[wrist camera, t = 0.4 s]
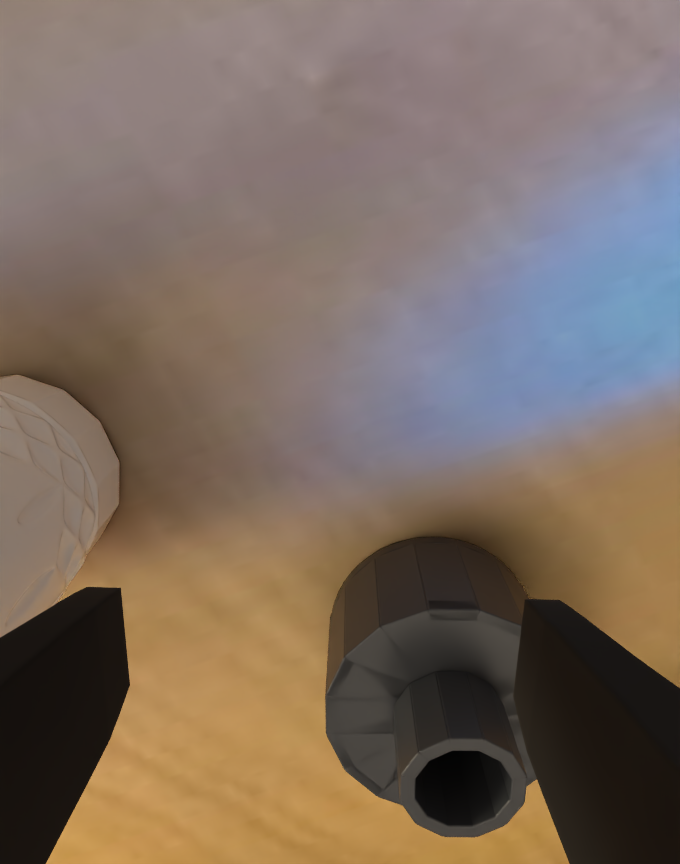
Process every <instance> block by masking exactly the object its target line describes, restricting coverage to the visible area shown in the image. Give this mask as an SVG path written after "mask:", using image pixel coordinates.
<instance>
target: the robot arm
mask: <svg viewBox="0 0 680 864" xmlns="http://www.w3.org/2000/svg"><path fill="white" fill-rule="evenodd" d="M129 686H130V681H129V671H128V660H127V650H126V639H125V629H124V618H123V607H122V597H121V588H102V587H86V588H84V589H82V590H80V591H78V592H76V593H74V594H72V595H71V596H69V597H67V598H65V599H64V600H62V601H60V602H58V603H57V604H55V605H53V606H52V607H50V608H48V609H47V610H45V611H43V612H42V613H40V614H38V615H37V616H35V617H33V618H32V619H30V620H29V621H27V622H25V623H24V624H22V625H20V626H19V627H17V628H15V629H14V630H12V631H10V632H9V633H7V634H5V635H4V636H2V637H0V864H46V862H47V860H48V858H49V856H50V854H51V852H52V851H53V849H54V847H55V845H56V843H57V841H58V839H59V837H60V835H61V833H62V831H63V829H64V827H65V826H66V824H67V822H68V820H69V818H70V816H71V814H72V812H73V810H74V808H75V806H76V804H77V803H78V801H79V799H80V797H81V795H82V793H83V791H84V789H85V787H86V785H87V783H88V781H89V779H90V777H91V776H92V774H93V772H94V770H95V768H96V766H97V764H98V762H99V760H100V758H101V756H102V754H103V752H104V750H105V748H106V746H107V744H108V742H109V740H110V738H111V735H112V732H113V730H114V727H115V725H116V722H117V719H118V717H119V714H120V711H121V708H122V706H123V703H124V700H125V697H126V694H127V691H128V688H129ZM513 698H514V702H515V706H516V710H517V715H518V719H519V723H520V727H521V731H522V735H523V739H524V743H525V746H526V750H527V753H528V756H529V759H530V762H531V764H532V767H533V770H534V772H535V775H536V778H537V780H538V783H539V785H540V788H541V791H542V793H543V796H544V799H545V801H546V804H547V806H548V809H549V812H550V814H551V817H552V819H553V822H554V824H555V827H556V830H557V832H558V835H559V837H560V840H561V842H562V845H563V848H564V850H565V853H566V855H567V858H568V861H569V863H570V864H680V688H678V687H677V686H676V685H674V684H673V683H671V682H670V681H669V680H667V679H666V678H664V677H663V676H661V675H660V674H659V673H657V672H656V671H654V670H653V669H652V668H650V667H649V666H648V665H646V664H645V663H644V662H642V661H641V660H639V659H638V658H637V657H635V656H634V655H633V654H631V653H630V652H629V651H627V650H626V649H625V648H623V647H622V646H621V645H619V644H618V643H617V642H616V641H614V640H613V639H612V638H610V637H609V636H608V635H606V634H605V633H604V632H602V631H601V630H600V629H599V628H597V627H596V626H595V625H593V624H592V623H591V622H589V621H588V620H587V619H585V618H584V617H583V616H581V615H580V614H579V613H577V612H576V611H575V610H573V609H572V608H571V607H569V606H568V605H566V604H565V603H563V602H562V601H560V600H539V599H525V601H524V610H523V618H522V626H521V635H520V643H519V651H518V659H517V668H516V676H515V684H514V692H513Z"/></svg>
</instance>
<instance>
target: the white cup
mask: <svg viewBox="0 0 680 864" xmlns="http://www.w3.org/2000/svg"><path fill="white" fill-rule="evenodd" d="M119 466H120V463H119V460H118V458H117V456H116V454H115V452H114V450H113V447H112V445H111V443H110V441H109V439H108V437H107V435H106V433H105V431H104V429H103V427H102V424H101V422H100V421H99V420H98V419H97V418H95V417H94V416H93V415H92V414H91V413H90V412H89V411H87V410H86V409H85V408H84V407H83V406H82V405H81V404H80V403H78V402H77V401H76V400H75V399H74V398H73V397H72V396H70V395H69V394H68V393H67V392H66V391H65V390H63V389H60V388H57V387H54V386H51V385H48V384H45V383H42V382H39V381H36V380H33V379H30V378H27V377H24V376H21V375H9V376H0V637H2V636H4V635H5V634H7V633H9V632H10V631H12V630H14V629H15V628H17V627H19V626H20V625H22V624H24V623H25V622H27V621H29V620H30V619H32V618H33V617H35V616H37V615H38V614H40V613H42V612H43V611H45V610H47V609H48V608H50V607H52V606H53V605H55V604H56V603H57V602H58V600H59V599H60V597H61V596H62V594H63V593H64V592H65V590H66V588H67V586H68V585H69V583H70V582H71V581H72V579H73V578H74V577H75V575H76V574H77V572H78V571H79V570H80V568H81V567H82V565H83V563H84V561H85V557H86V555H87V554H88V553H89V552H90V550H91V549H92V548H93V546H94V545H95V544H96V543H97V541H98V540H99V539H100V537H101V535H102V533H103V532H104V530H105V528H106V526H107V525H108V523H109V521H110V519H111V517H112V516H113V514H114V512H115V510H116V509H117V507H118V505H119Z"/></svg>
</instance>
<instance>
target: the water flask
mask: <svg viewBox="0 0 680 864" xmlns="http://www.w3.org/2000/svg"><path fill="white" fill-rule="evenodd" d="M525 599H529V598H528V596H527V594H526V593H525V591H524V589H523V587H522V585H521V584H520V583H519V582H518V581H517V579H516V578H515V576H514V575H513V573H512V572H511V571H510V570H509V569H508V568H507V567H506V566H505V564H503V563H502V562H501V561H500V560H499V559H497V558H496V557H495V556H493V555H492V554H490V553H489V552H487V551H485V550H484V549H482V548H479V547H477V546H475V545H473V544H470V543H467V542H463V541H460V540H455V539H450V538H441V537H423V538H415V539H409V540H405V541H401V542H398V543H395V544H392V545H390V546H388V547H385V548H383V549H381V550H379V551H377V552H376V553H374V554H372V555H371V556H369V557H368V558H367V559H365V560H364V561H363V562H362V563H360V564H359V565H358V566H357V567H356V568H355V569H354V570H353V571H352V572H351V574H350V575H349V576H348V577H347V579H346V580H345V581H344V583H343V585H342V587H341V588H340V590H339V592H338V594H337V597H336V599H335V602H334V605H333V610H332V614H331V617H330V628H329V644H328V661H327V677H326V694H325V702H326V734H327V737H328V739H329V741H330V743H331V745H332V747H333V749H334V751H335V752H336V754H337V756H338V758H339V760H340V762H341V764H342V766H343V768H344V769H345V771H346V772H348V773H349V774H350V775H351V776H352V777H354V778H355V779H356V780H357V781H359V782H360V783H361V784H362V785H364V786H365V787H366V788H367V789H369V790H370V791H371V792H372V793H374V794H375V795H376V796H378V797H380V798H383V799H386V800H389V801H392V802H395V803H397V804H400V805H403V806H404V808H405V809H406V811H407V812H408V813H409V815H410V816H411V818H412V819H413V821H414V822H415V823H416V824H417V825H419V826H421V827H423V828H426V829H428V830H430V831H432V832H434V833H436V834H438V835H441V836H444V837H478V836H481V835H483V834H485V833H488V832H490V831H493V830H495V829H498V828H500V827H502V826H504V825H505V824H507V823H508V822H509V821H510V819H511V818H512V817H513V816H514V815H515V814H516V812H517V811H518V810H519V809H520V808H521V807H522V806H523V804H524V802H525V794H526V786H528V785H529V784H531V783H532V782H533V781H535V780H536V779H537V778H536V775H535V772H534V770H533V767H532V764H531V762H530V759H529V756H528V753H527V750H526V746H525V743H524V739H523V735H522V731H521V727H520V723H519V719H518V715H517V710H516V706H515V702H514V698H513V692H514V684H515V676H516V668H517V659H518V651H519V643H520V635H521V626H522V618H523V610H524V601H525Z"/></svg>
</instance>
